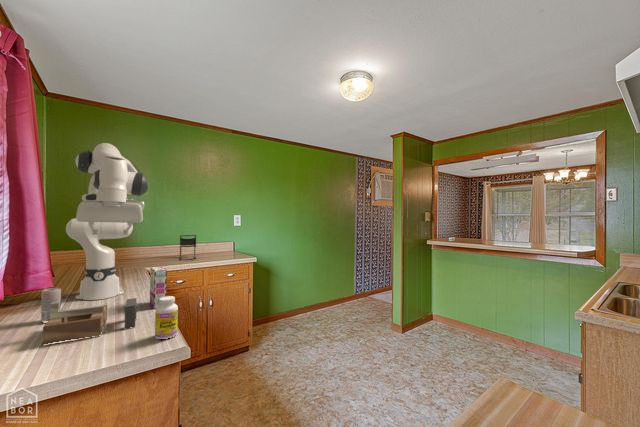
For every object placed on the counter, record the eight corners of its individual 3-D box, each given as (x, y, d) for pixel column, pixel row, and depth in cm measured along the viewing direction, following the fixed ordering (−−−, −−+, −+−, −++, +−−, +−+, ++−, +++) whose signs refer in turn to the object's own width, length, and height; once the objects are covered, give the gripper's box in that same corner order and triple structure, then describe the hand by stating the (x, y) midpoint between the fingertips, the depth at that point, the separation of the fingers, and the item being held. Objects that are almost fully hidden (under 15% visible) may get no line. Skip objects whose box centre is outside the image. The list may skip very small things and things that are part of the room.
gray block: (126, 319, 107) (127, 299, 107) (136, 318, 109) (136, 298, 109) (124, 329, 99) (124, 306, 99) (134, 327, 100) (135, 305, 100)
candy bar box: (166, 307, 123) (167, 269, 123) (153, 309, 119) (154, 271, 119) (161, 300, 131) (162, 265, 131) (149, 302, 128) (149, 267, 128)
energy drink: (59, 317, 109) (59, 286, 109) (61, 320, 106) (62, 289, 106) (40, 321, 105) (40, 289, 105) (42, 325, 102) (42, 292, 102)
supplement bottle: (156, 342, 89) (156, 302, 89) (153, 335, 94) (154, 297, 94) (179, 337, 93) (179, 298, 93) (175, 330, 98) (176, 294, 98)
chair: (179, 260, 239) (179, 235, 239) (179, 257, 254) (180, 233, 254) (196, 259, 244) (196, 234, 244) (195, 257, 260) (195, 233, 260)
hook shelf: (57, 327, 99) (58, 297, 99) (106, 320, 107) (107, 291, 107) (42, 346, 86) (43, 310, 86) (100, 336, 93) (100, 303, 93)
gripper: (145, 200, 114) (143, 234, 113) (80, 197, 104) (78, 234, 103) (144, 198, 109) (142, 234, 108) (76, 195, 99) (73, 234, 97)
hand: (110, 234), depth 105 cm, fingers open, 8 cm apart
